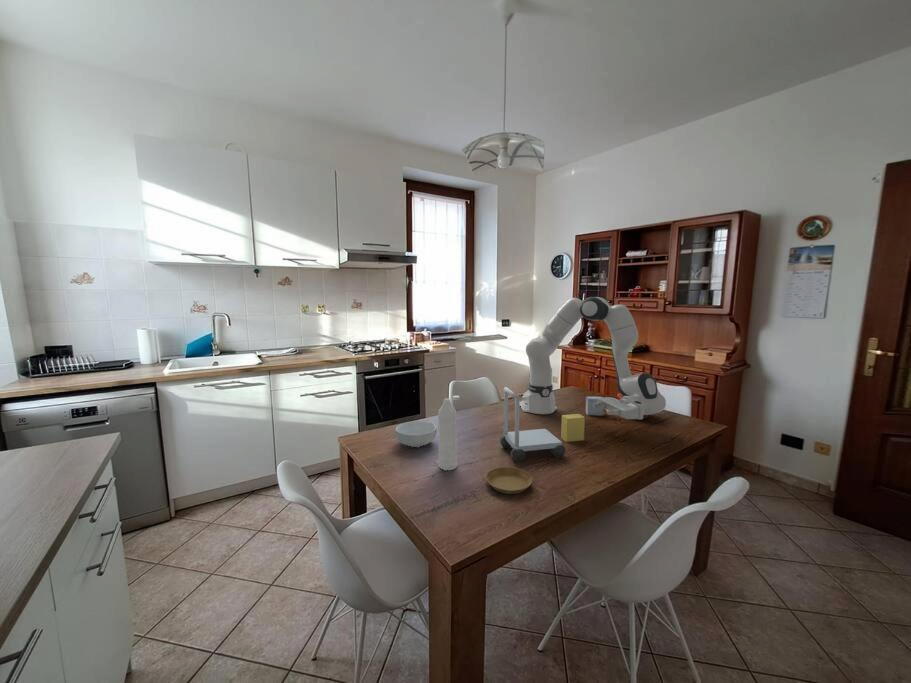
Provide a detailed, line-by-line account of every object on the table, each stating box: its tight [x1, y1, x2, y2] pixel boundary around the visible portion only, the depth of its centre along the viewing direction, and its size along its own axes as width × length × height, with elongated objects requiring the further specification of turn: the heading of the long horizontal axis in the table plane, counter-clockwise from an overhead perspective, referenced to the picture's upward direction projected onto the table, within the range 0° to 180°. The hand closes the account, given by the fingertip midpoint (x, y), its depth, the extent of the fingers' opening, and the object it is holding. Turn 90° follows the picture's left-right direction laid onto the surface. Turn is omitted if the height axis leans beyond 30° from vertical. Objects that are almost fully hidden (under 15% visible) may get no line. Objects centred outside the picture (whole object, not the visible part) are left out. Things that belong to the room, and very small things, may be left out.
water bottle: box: [437, 395, 461, 471], centre depth 129 cm, size 9×6×25 cm
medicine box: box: [585, 396, 605, 416], centre depth 183 cm, size 8×4×9 cm, turn 84°
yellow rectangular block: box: [560, 413, 586, 443], centre depth 152 cm, size 4×8×10 cm, turn 102°
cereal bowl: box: [395, 420, 438, 448], centre depth 149 cm, size 17×17×7 cm
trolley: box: [499, 386, 566, 463], centre depth 139 cm, size 14×21×25 cm, turn 102°
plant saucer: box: [485, 466, 533, 495], centre depth 117 cm, size 15×15×3 cm
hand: (600, 408), depth 154 cm, fingers open, 8 cm apart
